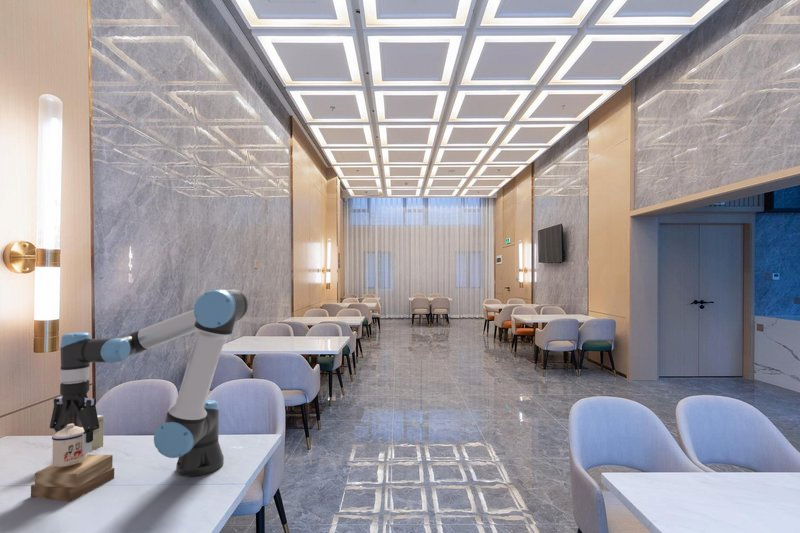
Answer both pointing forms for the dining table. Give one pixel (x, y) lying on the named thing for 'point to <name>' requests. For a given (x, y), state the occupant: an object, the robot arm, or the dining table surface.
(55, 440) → the teacup with lid
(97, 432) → the skincare box
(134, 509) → the dining table surface
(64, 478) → the tower top block
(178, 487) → the dining table surface
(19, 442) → the dining table surface
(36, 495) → the tower base block
